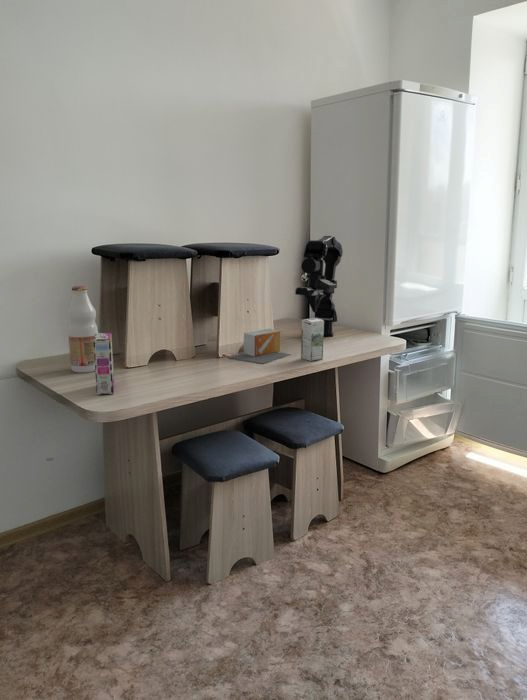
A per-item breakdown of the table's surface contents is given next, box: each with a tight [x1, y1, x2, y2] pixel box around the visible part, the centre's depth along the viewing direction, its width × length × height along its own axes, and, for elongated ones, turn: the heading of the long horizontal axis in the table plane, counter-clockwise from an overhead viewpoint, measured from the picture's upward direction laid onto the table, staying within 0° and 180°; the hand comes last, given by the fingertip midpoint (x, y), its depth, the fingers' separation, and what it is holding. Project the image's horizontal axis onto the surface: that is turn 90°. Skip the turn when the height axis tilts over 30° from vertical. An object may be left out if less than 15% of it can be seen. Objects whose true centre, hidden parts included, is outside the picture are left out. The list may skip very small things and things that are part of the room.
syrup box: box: [300, 317, 325, 362], centre depth 203 cm, size 6×6×14 cm
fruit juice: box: [66, 285, 99, 374], centre depth 189 cm, size 9×9×28 cm
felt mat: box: [227, 351, 291, 365], centre depth 209 cm, size 17×16×1 cm
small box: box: [243, 328, 281, 357], centre depth 213 cm, size 8×6×13 cm
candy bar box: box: [93, 332, 115, 396], centre depth 168 cm, size 11×5×16 cm, turn 13°
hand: (314, 312), depth 228 cm, fingers closed
